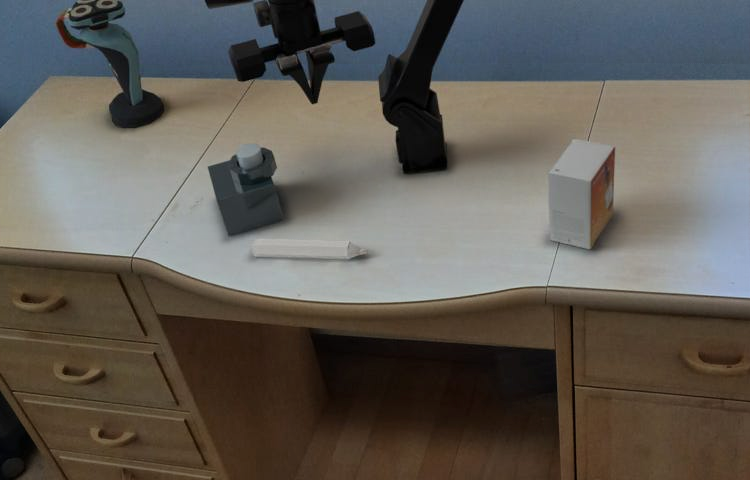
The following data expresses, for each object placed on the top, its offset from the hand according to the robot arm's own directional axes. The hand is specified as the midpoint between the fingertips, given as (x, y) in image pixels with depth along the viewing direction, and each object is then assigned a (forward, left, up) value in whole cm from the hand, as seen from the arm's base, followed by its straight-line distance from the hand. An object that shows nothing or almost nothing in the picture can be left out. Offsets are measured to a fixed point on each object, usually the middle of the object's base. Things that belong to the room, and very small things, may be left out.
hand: (313, 102), depth 127 cm
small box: (-34, +18, -12) cm, 40 cm away
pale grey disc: (+9, +6, -4) cm, 12 cm away
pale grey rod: (+1, +18, -12) cm, 22 cm away
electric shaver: (+36, -24, -12) cm, 45 cm away
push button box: (+11, +7, -12) cm, 18 cm away
